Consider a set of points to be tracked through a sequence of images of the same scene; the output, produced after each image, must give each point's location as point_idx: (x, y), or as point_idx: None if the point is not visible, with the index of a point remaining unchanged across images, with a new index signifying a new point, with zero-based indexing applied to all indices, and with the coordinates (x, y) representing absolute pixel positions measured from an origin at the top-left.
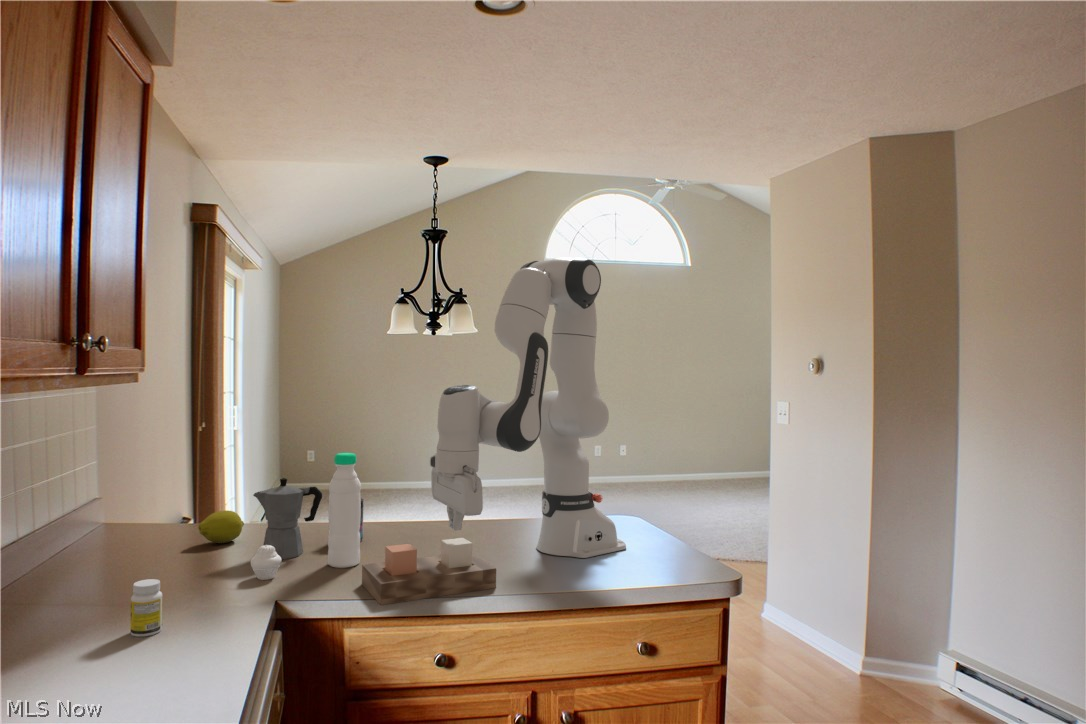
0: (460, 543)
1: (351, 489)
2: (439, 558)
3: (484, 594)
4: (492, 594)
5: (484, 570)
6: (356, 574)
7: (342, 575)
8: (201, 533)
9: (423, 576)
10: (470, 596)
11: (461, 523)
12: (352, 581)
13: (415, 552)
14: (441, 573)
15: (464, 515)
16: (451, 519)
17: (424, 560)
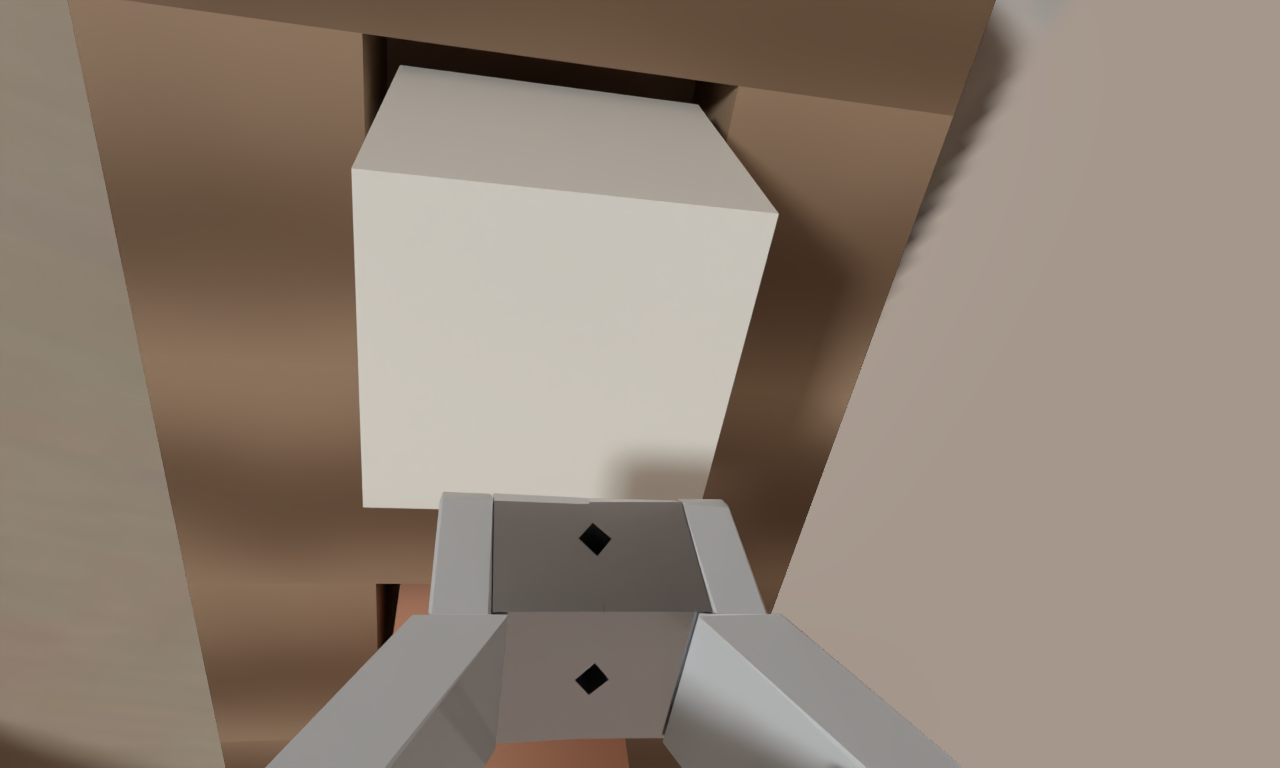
0: (685, 370)
1: None
2: (271, 314)
3: (966, 114)
4: (1018, 53)
5: (960, 94)
6: (9, 671)
7: (13, 729)
8: None
9: None
10: (918, 234)
11: (756, 590)
12: (182, 707)
13: (626, 753)
14: (765, 476)
15: (946, 754)
16: (494, 731)
17: (291, 460)
